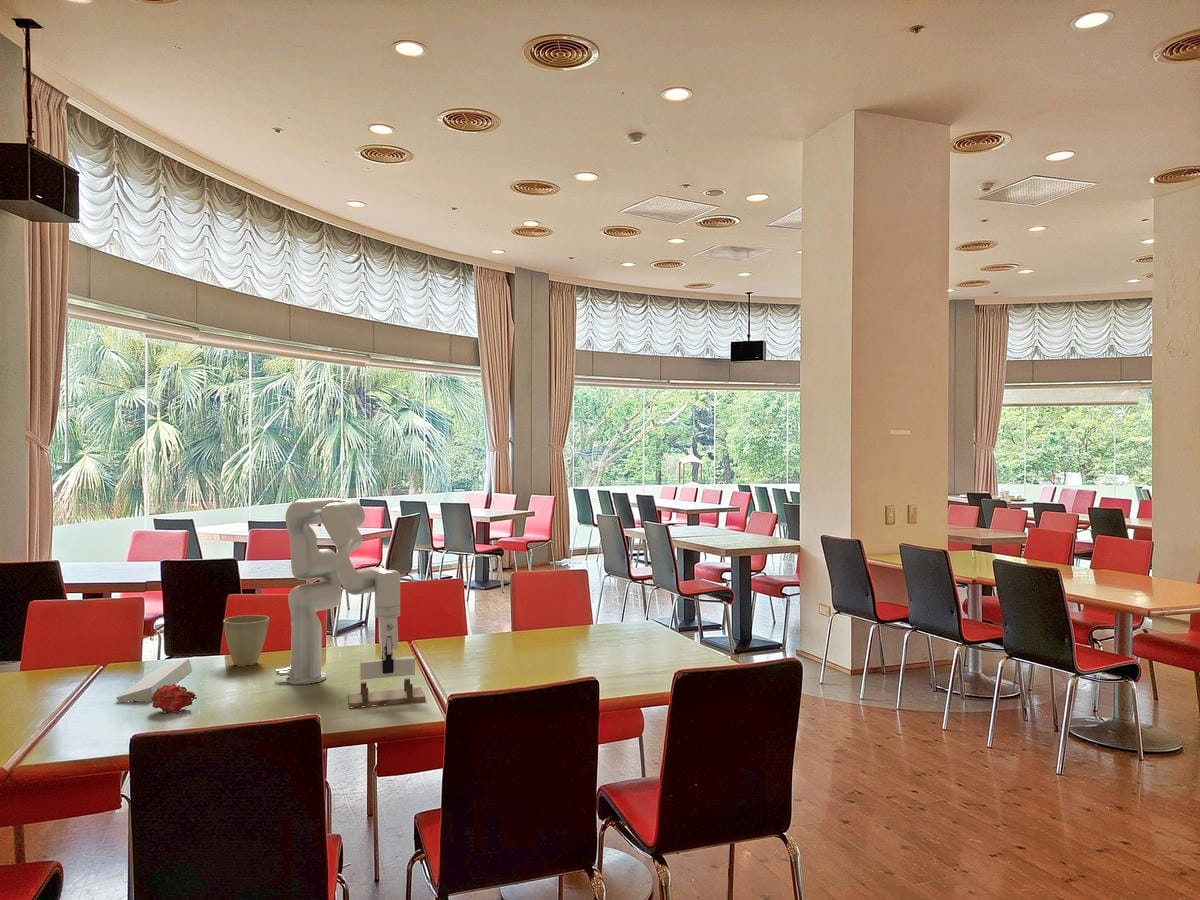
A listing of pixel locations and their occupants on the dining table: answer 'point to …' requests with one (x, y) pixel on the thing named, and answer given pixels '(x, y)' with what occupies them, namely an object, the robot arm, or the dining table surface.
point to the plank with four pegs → (386, 696)
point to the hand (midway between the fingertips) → (387, 671)
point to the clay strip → (375, 668)
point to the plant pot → (245, 637)
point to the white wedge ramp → (156, 681)
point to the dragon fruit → (172, 698)
